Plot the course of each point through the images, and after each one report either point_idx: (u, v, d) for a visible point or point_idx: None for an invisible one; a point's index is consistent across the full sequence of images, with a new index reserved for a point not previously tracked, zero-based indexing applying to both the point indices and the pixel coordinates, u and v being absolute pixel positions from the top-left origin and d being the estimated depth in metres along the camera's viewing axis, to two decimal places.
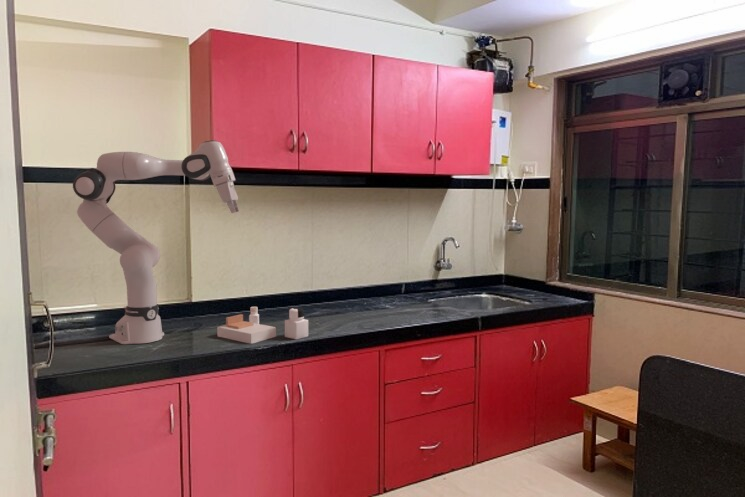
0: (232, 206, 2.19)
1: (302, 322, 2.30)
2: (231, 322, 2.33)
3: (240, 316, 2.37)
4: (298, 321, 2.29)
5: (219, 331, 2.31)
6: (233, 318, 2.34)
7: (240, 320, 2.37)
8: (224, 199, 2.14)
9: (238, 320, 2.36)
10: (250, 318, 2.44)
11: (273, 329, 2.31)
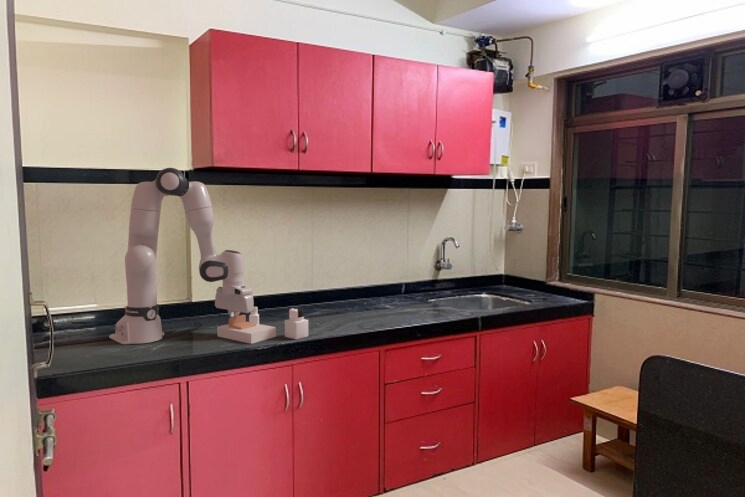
0: (237, 315, 2.35)
1: (302, 322, 2.30)
2: (234, 323, 2.32)
3: (243, 316, 2.36)
4: (298, 321, 2.29)
5: (219, 331, 2.31)
6: (236, 319, 2.33)
7: (243, 321, 2.36)
8: (249, 310, 2.29)
9: (241, 321, 2.36)
10: (250, 318, 2.44)
11: (273, 329, 2.31)
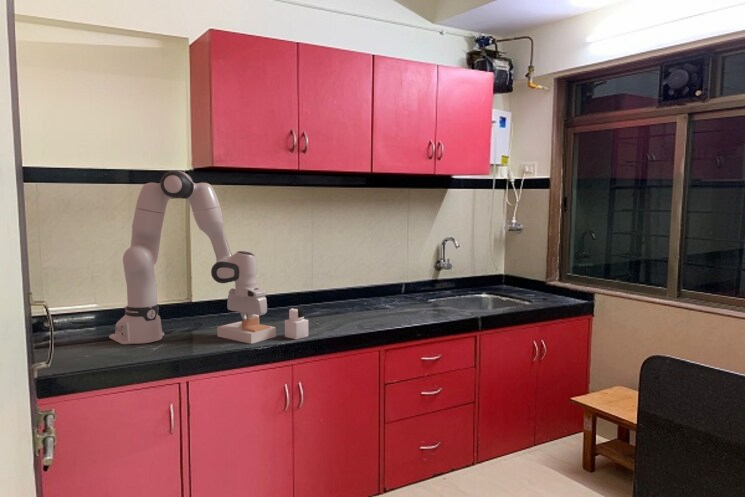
0: (250, 317, 2.31)
1: (302, 322, 2.30)
2: (247, 325, 2.28)
3: (256, 319, 2.32)
4: (298, 321, 2.29)
5: (219, 331, 2.31)
6: (249, 321, 2.29)
7: (256, 323, 2.32)
8: (262, 312, 2.25)
9: (254, 323, 2.31)
10: None
11: (273, 329, 2.31)
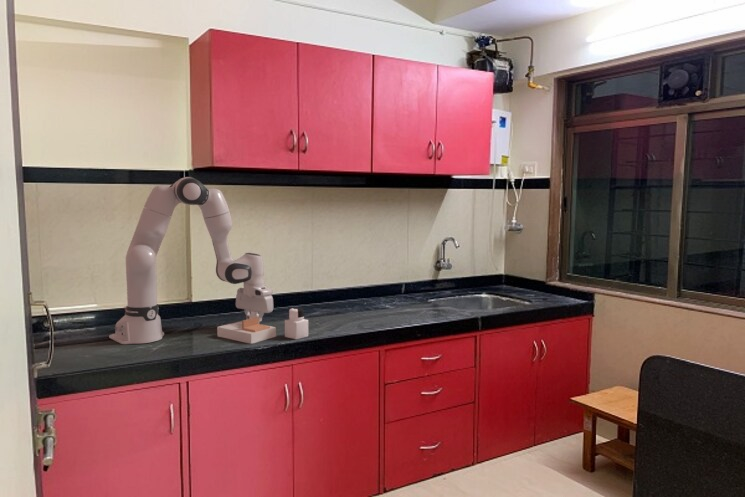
0: (262, 316, 2.44)
1: (302, 322, 2.30)
2: (247, 325, 2.28)
3: (256, 319, 2.32)
4: (298, 321, 2.29)
5: (219, 331, 2.31)
6: (249, 321, 2.29)
7: (256, 323, 2.32)
8: (269, 310, 2.39)
9: (254, 323, 2.31)
10: (250, 318, 2.44)
11: (273, 329, 2.31)
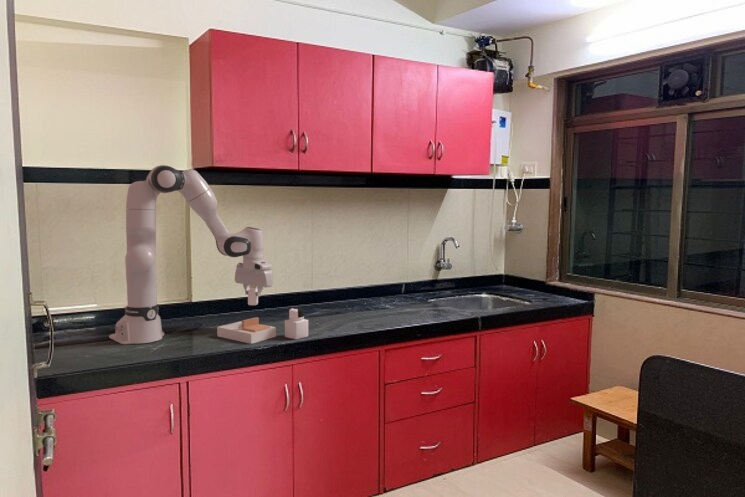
0: (261, 290, 2.43)
1: (302, 322, 2.30)
2: (247, 325, 2.28)
3: (256, 319, 2.32)
4: (298, 321, 2.29)
5: (219, 331, 2.31)
6: (249, 321, 2.29)
7: (256, 323, 2.32)
8: (268, 284, 2.38)
9: (254, 323, 2.31)
10: (249, 294, 2.43)
11: (273, 329, 2.31)
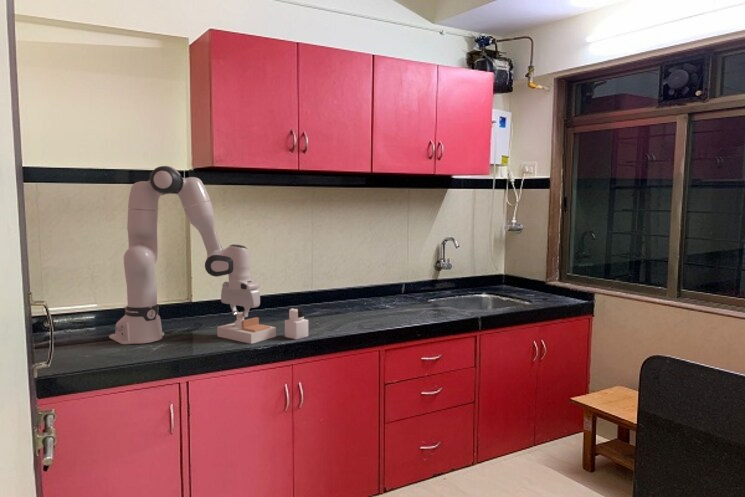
0: (248, 311, 2.31)
1: (302, 322, 2.30)
2: (247, 325, 2.28)
3: (256, 319, 2.32)
4: (298, 321, 2.29)
5: (219, 331, 2.31)
6: (249, 321, 2.29)
7: (256, 323, 2.32)
8: (255, 305, 2.27)
9: (254, 323, 2.31)
10: (235, 324, 2.32)
11: (273, 329, 2.31)
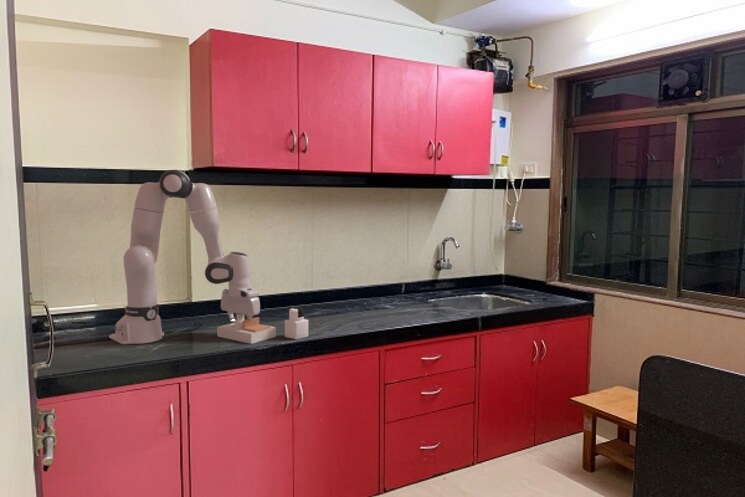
0: None
1: (302, 322, 2.30)
2: (247, 325, 2.28)
3: (256, 319, 2.32)
4: (298, 321, 2.29)
5: (219, 331, 2.31)
6: (249, 321, 2.29)
7: (256, 323, 2.32)
8: (255, 312, 2.27)
9: (254, 323, 2.31)
10: (235, 324, 2.32)
11: (273, 329, 2.31)
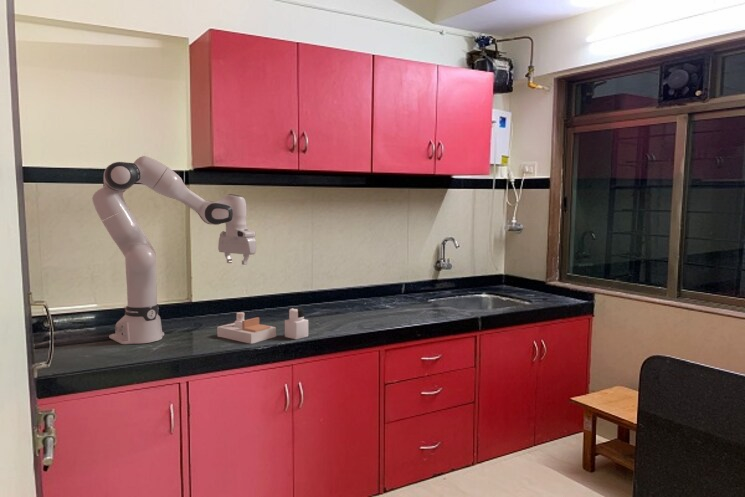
0: (247, 259, 2.38)
1: (302, 322, 2.30)
2: (247, 325, 2.28)
3: (256, 319, 2.32)
4: (298, 321, 2.29)
5: (219, 331, 2.31)
6: (249, 321, 2.29)
7: (256, 323, 2.32)
8: (251, 252, 2.34)
9: (254, 323, 2.31)
10: (235, 324, 2.32)
11: (273, 329, 2.31)
